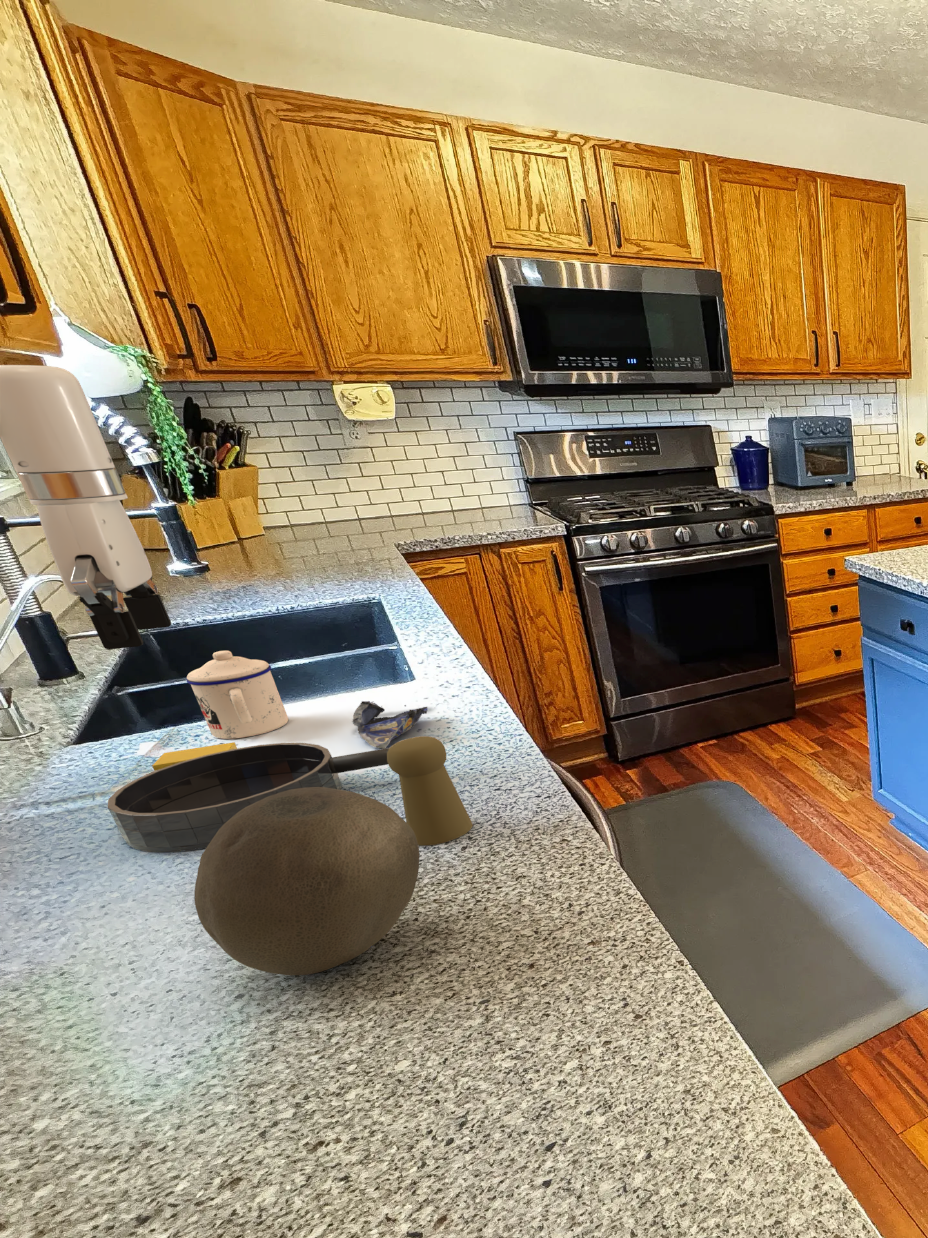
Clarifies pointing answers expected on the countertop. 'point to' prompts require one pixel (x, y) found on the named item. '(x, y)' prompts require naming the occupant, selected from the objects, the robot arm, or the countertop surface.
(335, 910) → the cantaloupe
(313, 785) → the pan
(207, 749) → the sponge
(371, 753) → the pan handle
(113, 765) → the countertop surface
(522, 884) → the countertop surface
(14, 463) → the robot arm
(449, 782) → the cork
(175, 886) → the countertop surface
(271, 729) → the teacup with lid
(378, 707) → the snack package
